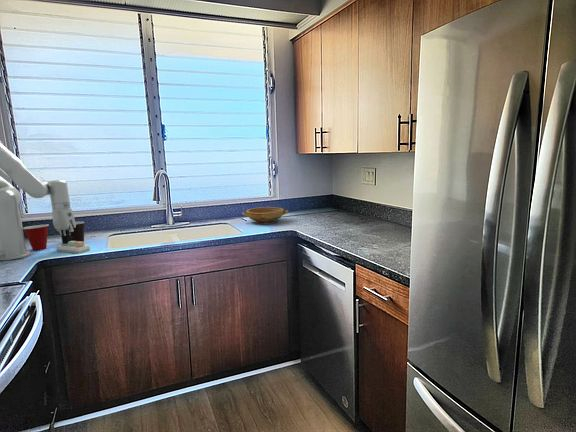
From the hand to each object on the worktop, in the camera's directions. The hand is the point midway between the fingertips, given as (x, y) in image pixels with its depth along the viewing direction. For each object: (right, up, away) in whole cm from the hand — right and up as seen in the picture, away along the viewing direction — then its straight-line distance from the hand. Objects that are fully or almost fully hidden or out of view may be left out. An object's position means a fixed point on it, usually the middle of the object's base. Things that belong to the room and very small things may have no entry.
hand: (66, 243), depth 179 cm
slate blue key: (0, -2, 0) cm, 2 cm away
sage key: (+4, -1, -2) cm, 5 cm away
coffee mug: (-4, -1, +16) cm, 16 cm away
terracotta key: (+8, -1, -4) cm, 9 cm away
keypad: (+4, -4, -1) cm, 6 cm away
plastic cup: (-16, -3, +4) cm, 16 cm away
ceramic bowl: (+93, +9, +56) cm, 109 cm away
